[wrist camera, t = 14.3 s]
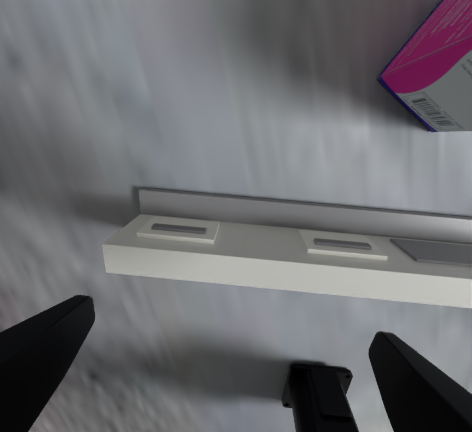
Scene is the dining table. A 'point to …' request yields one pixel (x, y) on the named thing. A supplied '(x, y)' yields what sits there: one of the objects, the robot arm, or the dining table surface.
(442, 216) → the panel
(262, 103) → the dining table surface
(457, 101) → the supplement box
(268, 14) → the dining table surface
